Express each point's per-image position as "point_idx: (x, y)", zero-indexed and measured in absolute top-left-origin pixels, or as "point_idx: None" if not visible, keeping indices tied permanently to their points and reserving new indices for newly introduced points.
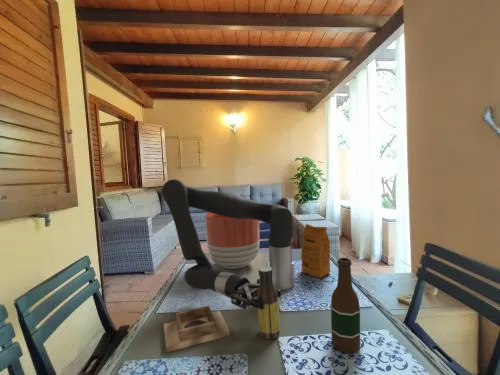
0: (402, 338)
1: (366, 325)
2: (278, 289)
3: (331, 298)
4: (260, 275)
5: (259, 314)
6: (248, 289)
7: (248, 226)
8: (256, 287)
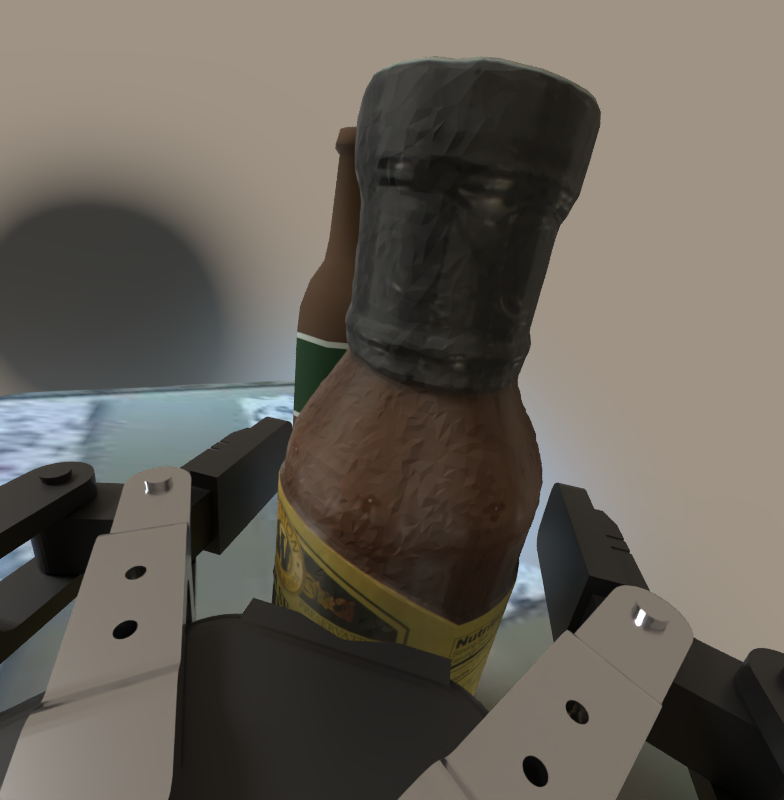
0: (276, 390)
1: (221, 419)
2: (265, 423)
3: (331, 325)
4: (570, 205)
5: (476, 686)
6: (475, 746)
7: None
8: (207, 650)
